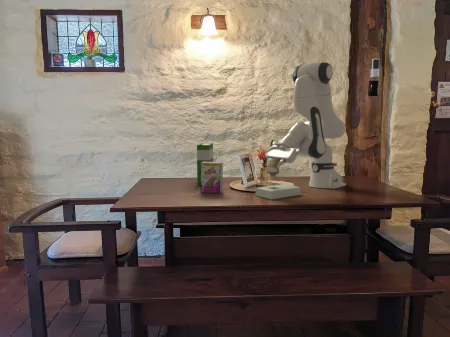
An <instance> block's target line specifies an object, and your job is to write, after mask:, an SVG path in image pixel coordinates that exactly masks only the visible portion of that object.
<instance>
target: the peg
mask: <svg viewBox="0 0 450 337" xmlns="http://www.w3.org/2000/svg"><path fill="white" fill-rule="evenodd" d="M277 163H279V159H266V164H267V165H266V174H269V180H277V179H276V178H277V174H279V173H280V167H279V168H276V167H275V165H276V164H277Z"/></svg>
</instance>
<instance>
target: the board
mask: <svg viewBox="0 0 450 337" xmlns="http://www.w3.org/2000/svg"><path fill="white" fill-rule="evenodd" d="M300 195H301V187H300V186H296V185H290V184H286V183H281V184H280V183H279V184H275V185H274V184H273V185H267V186H260V187H255V196H257V197H260V198H264V199H268V200H276V199H282V198H287V197H288V198H289V197H293V196H294V197H295V196H300Z"/></svg>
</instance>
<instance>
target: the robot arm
mask: <svg viewBox="0 0 450 337" xmlns="http://www.w3.org/2000/svg"><path fill="white" fill-rule="evenodd" d="M333 71H334V70H333V66H332V65H331V64H330V63H329V62H326V61H322V62H311V63H306V64H301V65H297V66H296V67H294V68H293V70H292V73H291V80H292V81H293V83H294V87H293V107H294V110H295V111H296V113H297V114H299V115H301V116H302V117H304V118H305V119H306V120H305V121H304V122H302V121H298V122H296V123H295V124H293V126H291V128H290V129H289V130H288V131H287V133H286V135H285V136H284V137H283V138H281V139H279V140H276V141H273V142H272V145H271V146H270V147H269V148H268V150H267V151H266V152H265V154H264V157H265V159H266V160H267V159H279V163H277V164H276V165H275V167H276V168H279V169H280V168H281V166H283V165H284V164H285V163H286V164H293V163H294V161H296V158H297V157H298V156H301V157H308V158H309V157H310V158H311V159H312V162H311V172H310V179H309V182H308V187H311V188H315V189H317V188H318V189H338V188H342V187H345V186H346V185H347V184H346V182H345V183H344V182H343V181H342V180H343V178H342V174H340V173H339V172H338V171H337V170H336V169H335V167H337V166H338V163H337V162H333V148H332V147H331V146H330V145H328V144H327V142H326V140H325V139H328V140H329V139H331V140H332V139H333V140H334V139H340V138H342V137H343V136H344V134H345V133H346V125H345V123H344V121H343V120H341V119H340V118H339V117H338V116H337V114H336V113H335V111H334V110H335V109H334V107H333V103H332V89H331V83H330V81H331V80H332V78H333V74H334V73H333ZM265 165H266V166H267V163H266V164H265Z"/></svg>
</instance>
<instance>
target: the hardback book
mask: <svg viewBox="0 0 450 337" xmlns="http://www.w3.org/2000/svg"><path fill="white" fill-rule="evenodd" d="M201 162H214V143H213V142H211V143H209V144H208V143H203V142H200V143H199V144H196V172H197V174H196V175H197V176H196V178H197V179H196V180H197V181H196V183H197V184H196V185H197V186H201Z"/></svg>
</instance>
